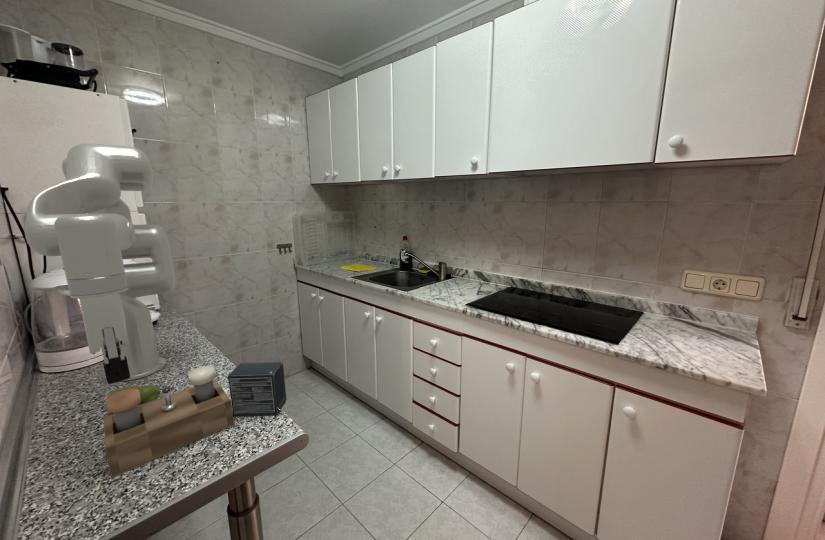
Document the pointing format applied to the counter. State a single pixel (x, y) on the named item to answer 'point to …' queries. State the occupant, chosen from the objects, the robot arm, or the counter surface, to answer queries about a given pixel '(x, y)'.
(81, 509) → the counter surface
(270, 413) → the small box
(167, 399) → the pot stem
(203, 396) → the knob cream
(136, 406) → the knob terracotta
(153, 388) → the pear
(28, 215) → the robot arm
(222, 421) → the wooden condiment caddy
